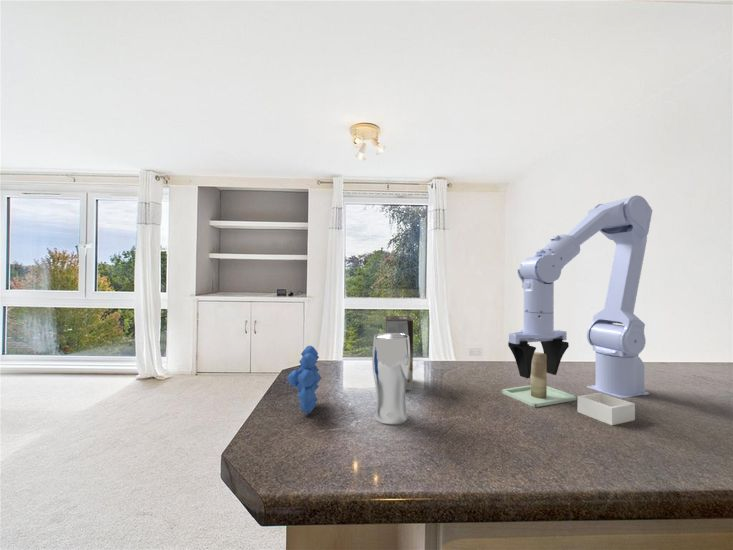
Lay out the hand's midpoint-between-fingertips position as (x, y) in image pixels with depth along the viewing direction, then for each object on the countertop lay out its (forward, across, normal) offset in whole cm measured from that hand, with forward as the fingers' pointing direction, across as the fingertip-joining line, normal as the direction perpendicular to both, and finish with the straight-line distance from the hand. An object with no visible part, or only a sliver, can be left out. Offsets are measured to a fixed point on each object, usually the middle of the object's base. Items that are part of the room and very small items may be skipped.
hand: (538, 375), depth 71 cm
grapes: (+5, +48, -12) cm, 50 cm away
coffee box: (+5, +24, -19) cm, 31 cm away
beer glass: (+5, +34, -2) cm, 34 cm away
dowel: (+4, 0, 0) cm, 4 cm away
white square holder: (+5, -3, +12) cm, 13 cm away
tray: (+5, 0, 0) cm, 5 cm away
